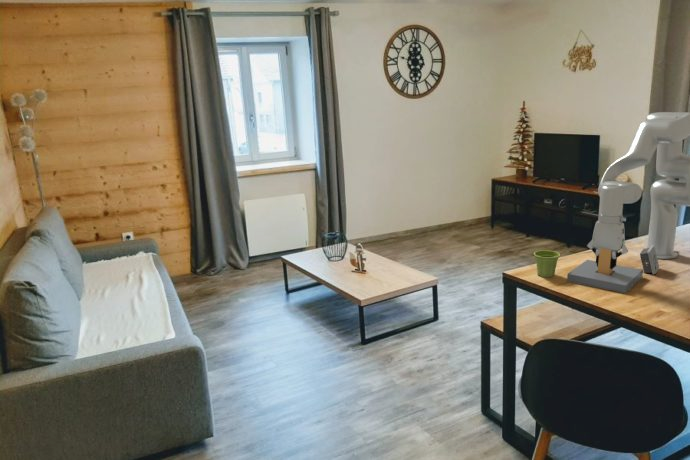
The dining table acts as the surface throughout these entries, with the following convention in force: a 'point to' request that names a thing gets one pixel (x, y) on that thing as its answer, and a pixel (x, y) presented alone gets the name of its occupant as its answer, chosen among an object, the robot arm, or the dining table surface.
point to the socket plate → (605, 277)
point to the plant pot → (546, 262)
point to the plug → (605, 261)
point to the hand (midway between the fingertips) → (605, 266)
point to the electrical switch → (649, 260)
